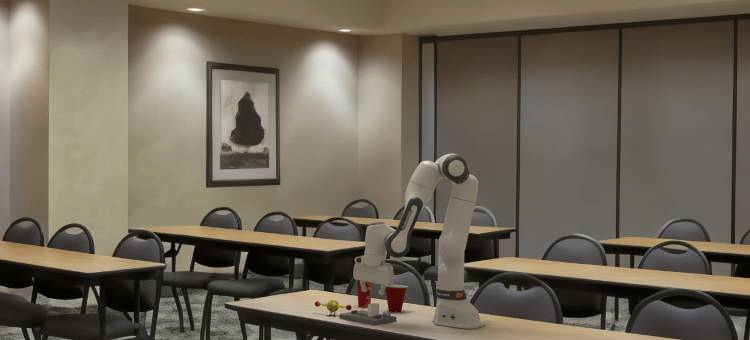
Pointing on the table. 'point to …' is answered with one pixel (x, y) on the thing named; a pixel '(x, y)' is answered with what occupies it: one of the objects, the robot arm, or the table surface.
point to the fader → (373, 309)
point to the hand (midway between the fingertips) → (372, 293)
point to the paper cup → (364, 295)
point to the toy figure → (332, 306)
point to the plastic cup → (395, 297)
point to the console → (368, 317)
